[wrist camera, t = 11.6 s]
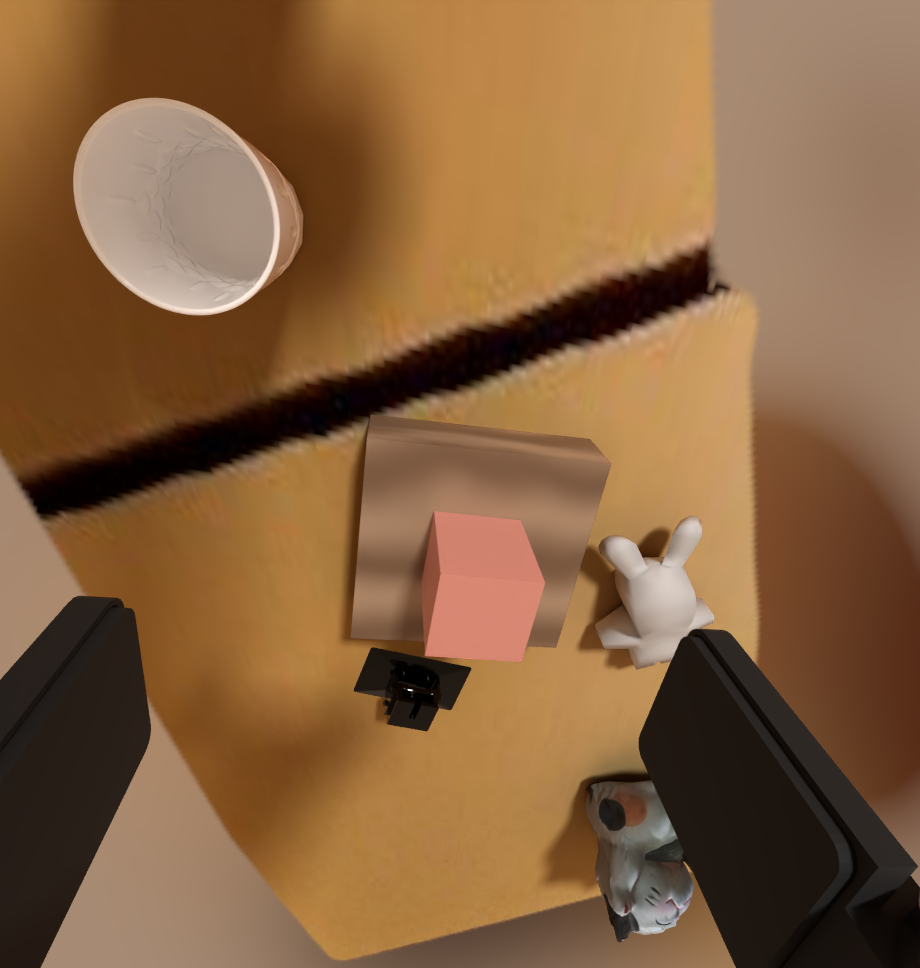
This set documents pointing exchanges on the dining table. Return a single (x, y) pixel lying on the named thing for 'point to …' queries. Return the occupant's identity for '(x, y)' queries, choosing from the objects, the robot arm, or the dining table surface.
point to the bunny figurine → (653, 597)
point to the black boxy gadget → (411, 686)
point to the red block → (479, 588)
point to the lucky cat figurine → (637, 858)
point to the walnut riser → (468, 512)
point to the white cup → (183, 207)
